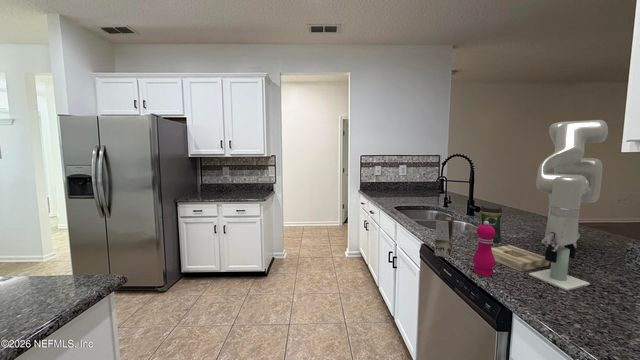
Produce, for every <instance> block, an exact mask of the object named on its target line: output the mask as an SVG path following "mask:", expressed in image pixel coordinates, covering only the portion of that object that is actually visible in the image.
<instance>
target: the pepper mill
mask: <svg viewBox="0 0 640 360" xmlns="http://www.w3.org/2000/svg"><path fill="white" fill-rule="evenodd" d="M476 234H477V242H478V245H477V248H476V251H475V253H474V254H473V257H472V262H473V264H474V266H473V271H474V273H475V274H477V275H479V276H484V277H492V276H493V275H494V269H493V268H495V266H496V261H495V258H494V256H493V253H492V250H491V248H492V245H493V243H494V242H493V237H494V236H495V229H494V228H493V227H492V226H490V225H489V222H488V221H484V225H481V224H480V225H478V226H477V227H476Z"/></svg>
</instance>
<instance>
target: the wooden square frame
mask: <svg viewBox="0 0 640 360" xmlns="http://www.w3.org/2000/svg"><path fill="white" fill-rule="evenodd" d="M491 250H492V253H493V256H494V258H495V263H496V262H497V263H499V264H501V265H504V266H505V267H506V266H507V267H509V268H511V269H513V270H516V271H519V272H524V271H529V270H533V269H534V270H535V269H538V268H543V267H548V266H550V261H547V260H545V255H544V256H543V255H542V254H541V255H540V254H537V253H535V252H531V251H528V250H525V249H523V248H519V247H517V246H514V245H512V244H511V245H510V244H509V245H502V246H496V247H491Z"/></svg>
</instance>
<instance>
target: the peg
mask: <svg viewBox="0 0 640 360" xmlns="http://www.w3.org/2000/svg"><path fill="white" fill-rule="evenodd" d="M553 247H554V246H553ZM556 252H557V261H556V263H553V262H550V269H551V270H550V277H551V278H553V279H555V280H559V281H566V280H567V275H568V273H569V272H568V271H569V260H570V258H569V252H570V249H568V248H565V247H561V246H559V247H558V248H557V250H556Z"/></svg>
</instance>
